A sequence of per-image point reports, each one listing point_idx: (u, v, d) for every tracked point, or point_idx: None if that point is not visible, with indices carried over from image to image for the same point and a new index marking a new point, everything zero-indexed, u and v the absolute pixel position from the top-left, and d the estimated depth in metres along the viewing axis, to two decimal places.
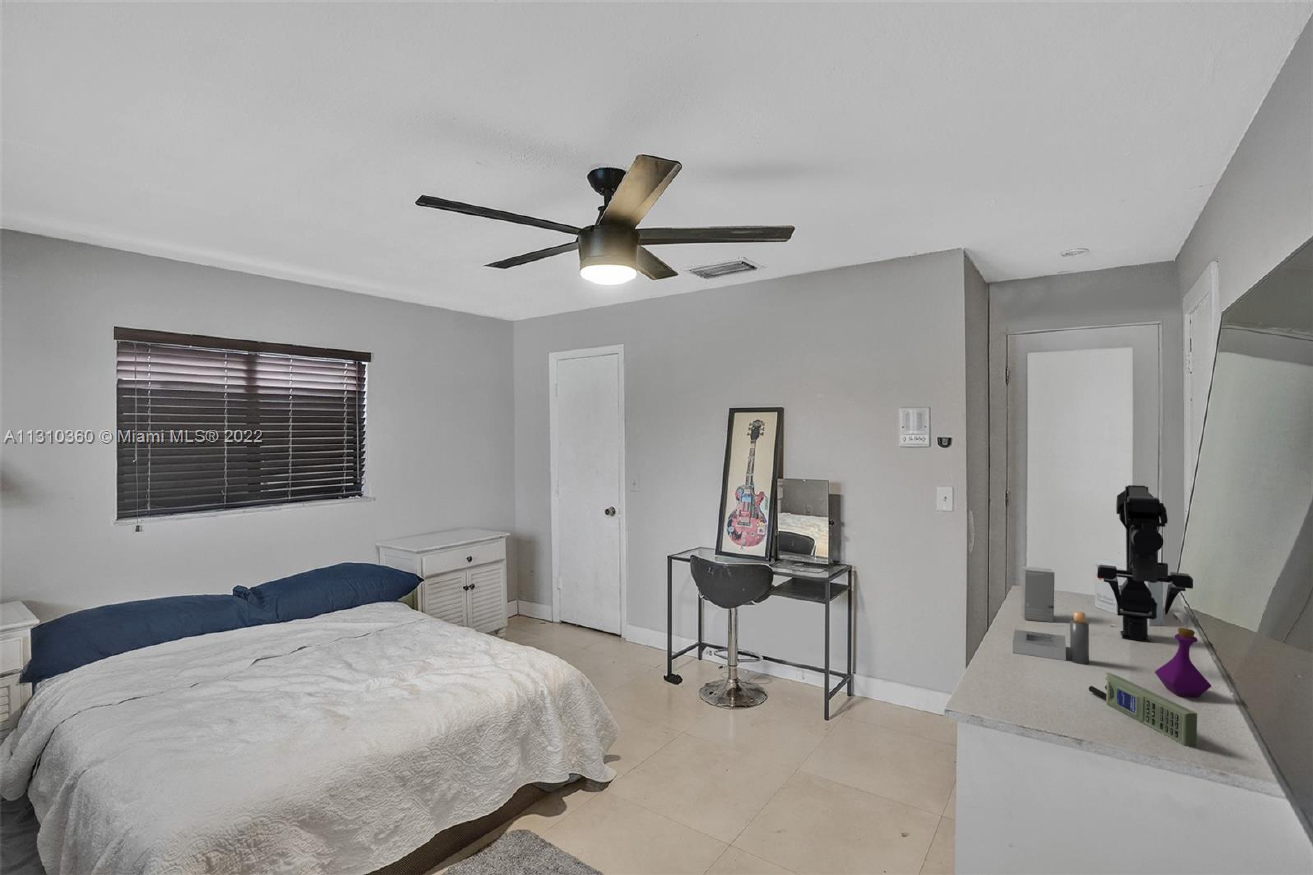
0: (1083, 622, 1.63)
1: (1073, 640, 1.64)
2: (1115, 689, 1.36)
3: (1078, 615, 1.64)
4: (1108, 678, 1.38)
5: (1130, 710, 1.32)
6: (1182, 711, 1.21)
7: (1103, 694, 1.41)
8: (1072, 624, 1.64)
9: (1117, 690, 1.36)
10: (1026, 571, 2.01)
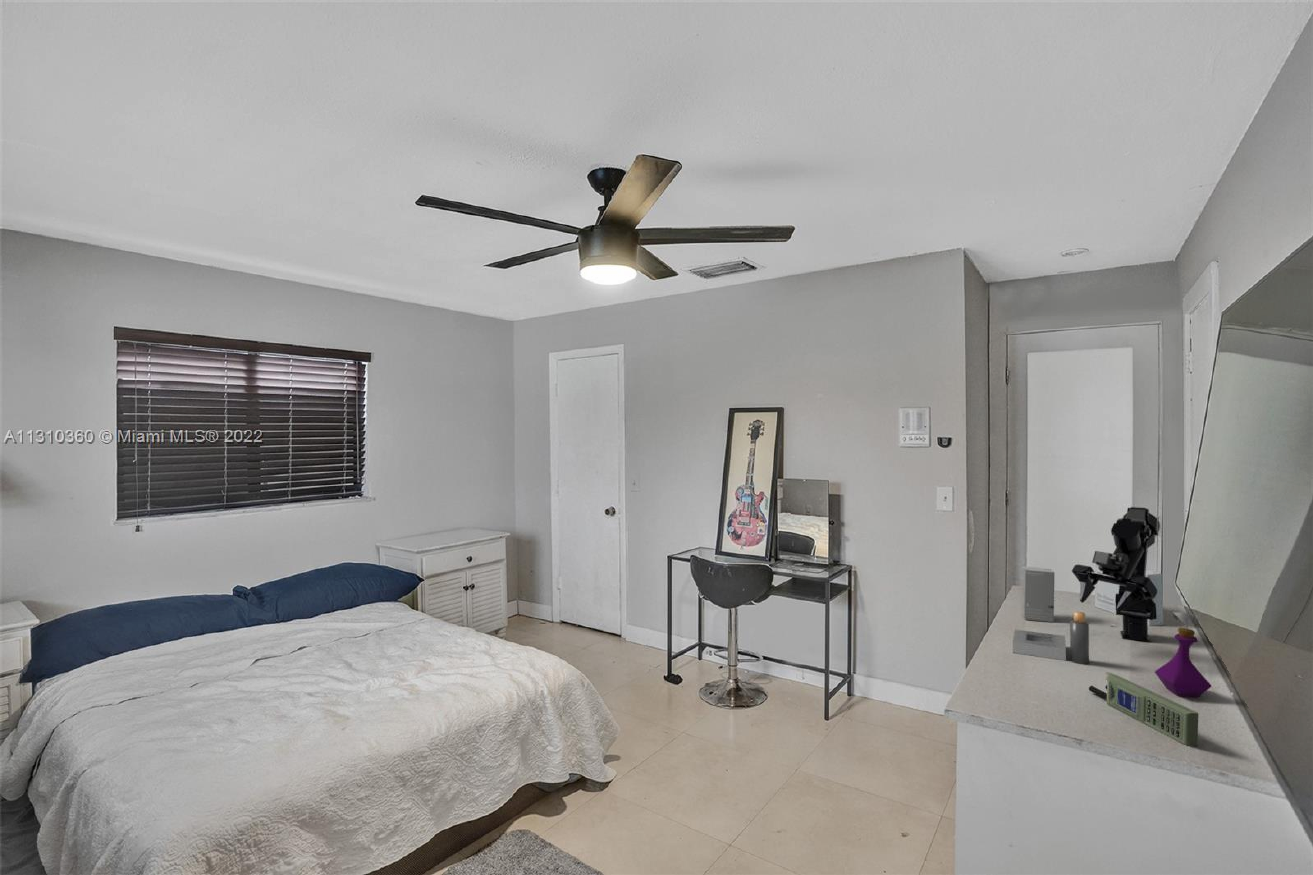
0: (1083, 622, 1.63)
1: (1073, 640, 1.64)
2: (1116, 689, 1.36)
3: (1078, 615, 1.63)
4: (1108, 678, 1.38)
5: (1131, 709, 1.32)
6: (1183, 711, 1.21)
7: (1103, 694, 1.41)
8: (1072, 624, 1.64)
9: (1117, 690, 1.36)
10: (1026, 571, 2.01)
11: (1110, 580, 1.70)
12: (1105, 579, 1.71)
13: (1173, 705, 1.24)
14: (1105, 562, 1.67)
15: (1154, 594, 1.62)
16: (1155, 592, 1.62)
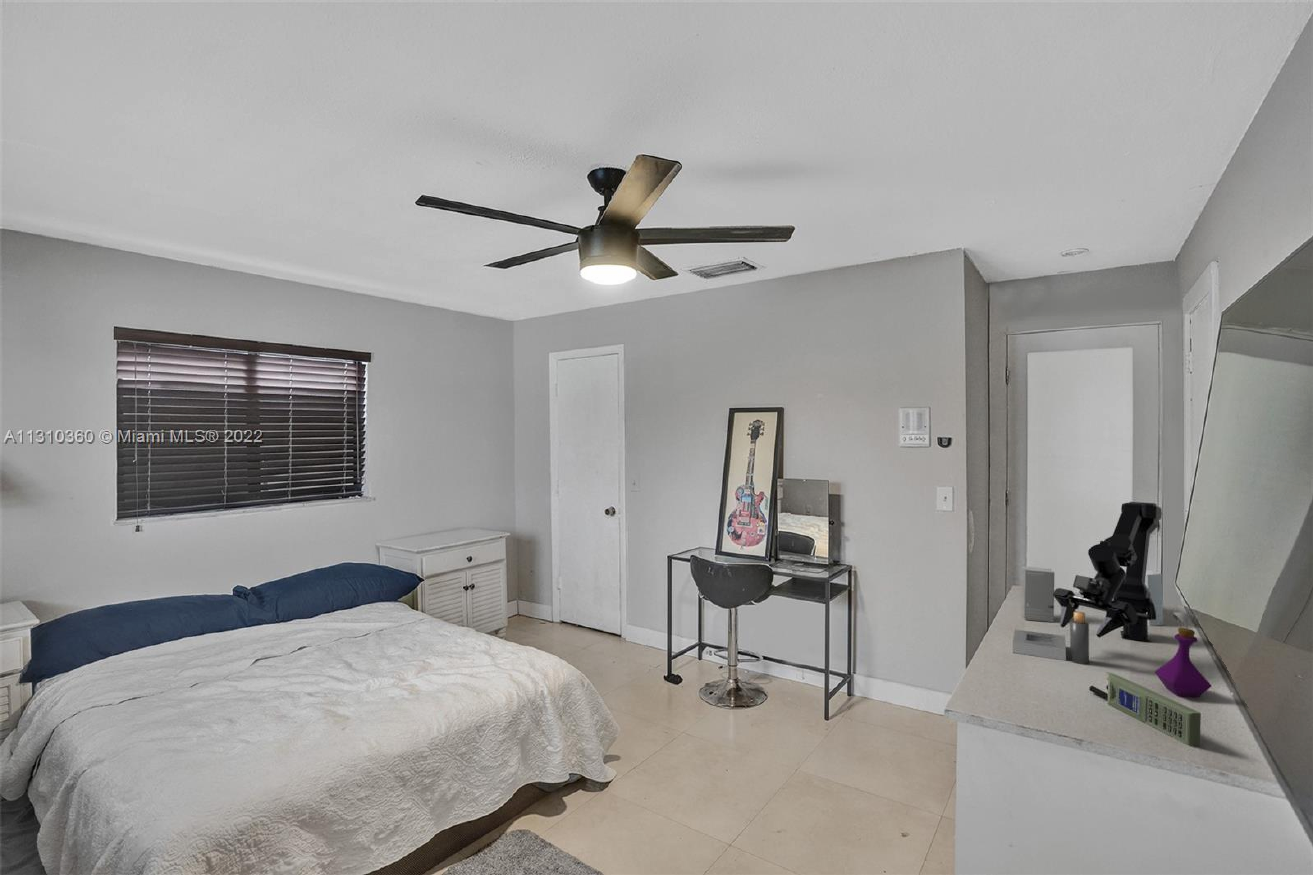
0: (1083, 622, 1.63)
1: (1073, 640, 1.64)
2: (1117, 689, 1.36)
3: (1078, 615, 1.64)
4: (1109, 678, 1.38)
5: (1132, 709, 1.32)
6: (1186, 711, 1.21)
7: (1104, 694, 1.41)
8: (1072, 624, 1.64)
9: (1119, 690, 1.36)
10: (1026, 571, 2.01)
11: (1091, 605, 1.67)
12: (1086, 604, 1.68)
13: (1175, 705, 1.24)
14: (1085, 587, 1.63)
15: (1135, 620, 1.59)
16: (1136, 618, 1.59)
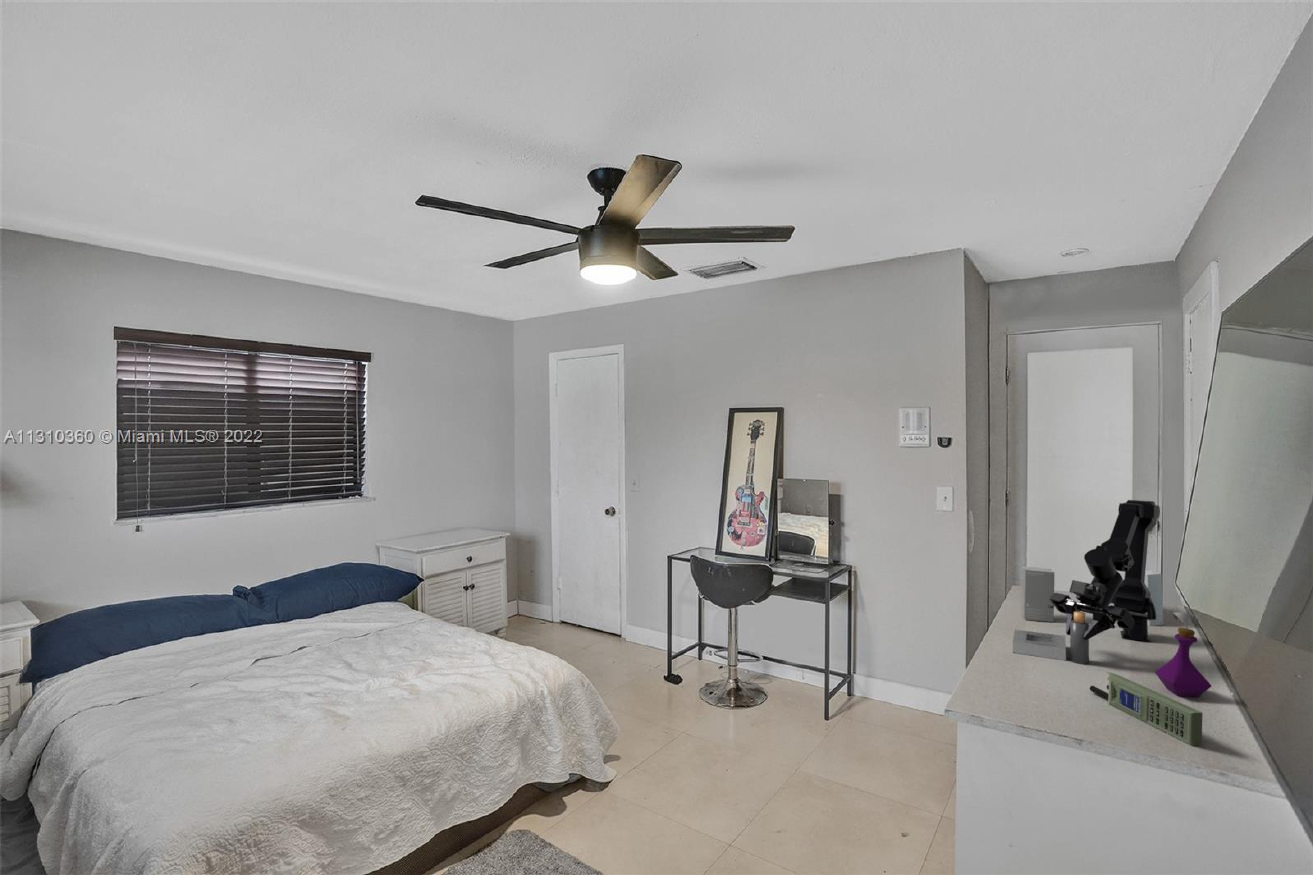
0: (1083, 622, 1.63)
1: (1073, 639, 1.64)
2: (1118, 689, 1.36)
3: (1078, 615, 1.64)
4: (1110, 678, 1.38)
5: (1133, 709, 1.32)
6: (1188, 710, 1.21)
7: (1105, 694, 1.41)
8: (1072, 624, 1.64)
9: (1120, 690, 1.36)
10: (1026, 571, 2.01)
11: (1088, 610, 1.66)
12: (1083, 609, 1.67)
13: (1177, 705, 1.24)
14: (1082, 592, 1.63)
15: (1131, 626, 1.58)
16: (1132, 624, 1.58)
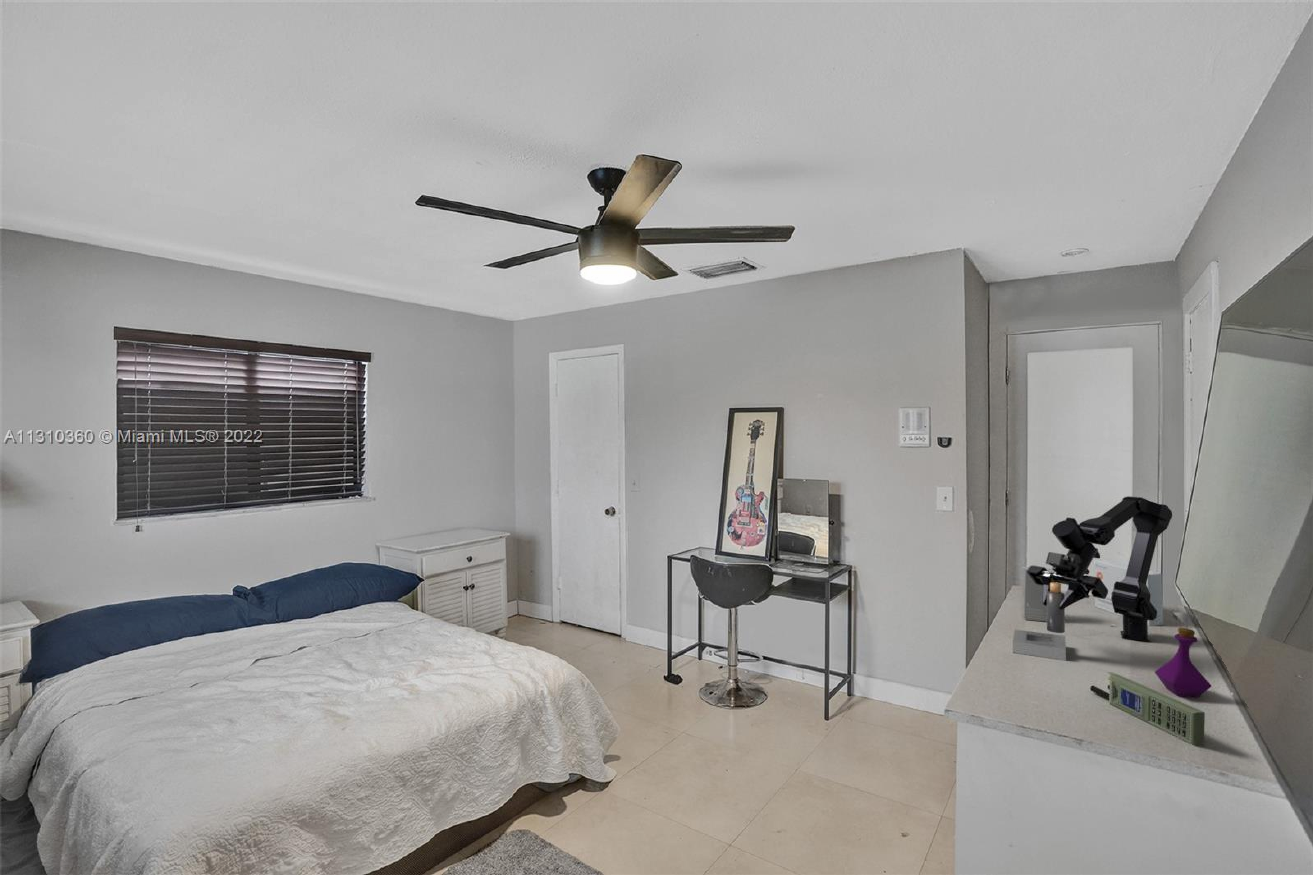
0: (1059, 592, 1.68)
1: (1049, 609, 1.69)
2: (1119, 689, 1.36)
3: (1054, 585, 1.69)
4: (1111, 678, 1.39)
5: (1135, 709, 1.32)
6: (1190, 710, 1.21)
7: (1105, 694, 1.41)
8: (1048, 594, 1.69)
9: (1121, 690, 1.36)
10: (1026, 571, 2.01)
11: (1063, 581, 1.71)
12: (1058, 580, 1.73)
13: (1179, 704, 1.24)
14: (1058, 563, 1.68)
15: (1105, 594, 1.63)
16: (1106, 592, 1.64)
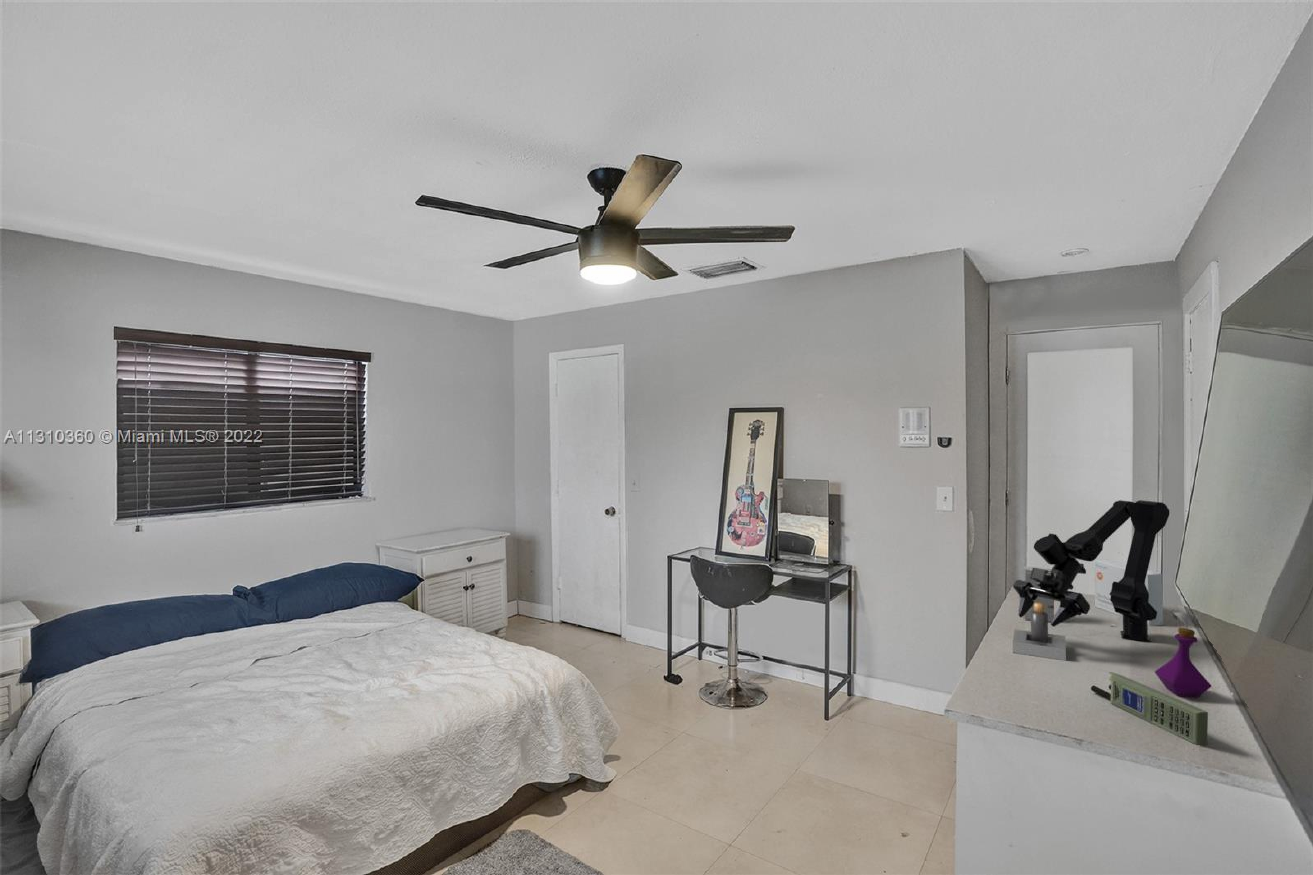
0: (1042, 612, 1.72)
1: (1033, 629, 1.73)
2: (1120, 689, 1.36)
3: (1038, 606, 1.73)
4: (1112, 678, 1.39)
5: (1137, 709, 1.32)
6: (1193, 710, 1.21)
7: (1106, 694, 1.41)
8: (1032, 614, 1.73)
9: (1122, 690, 1.36)
10: (1026, 571, 2.01)
11: (1047, 596, 1.75)
12: (1043, 595, 1.76)
13: (1182, 704, 1.24)
14: (1041, 578, 1.72)
15: (1087, 610, 1.67)
16: (1088, 608, 1.67)
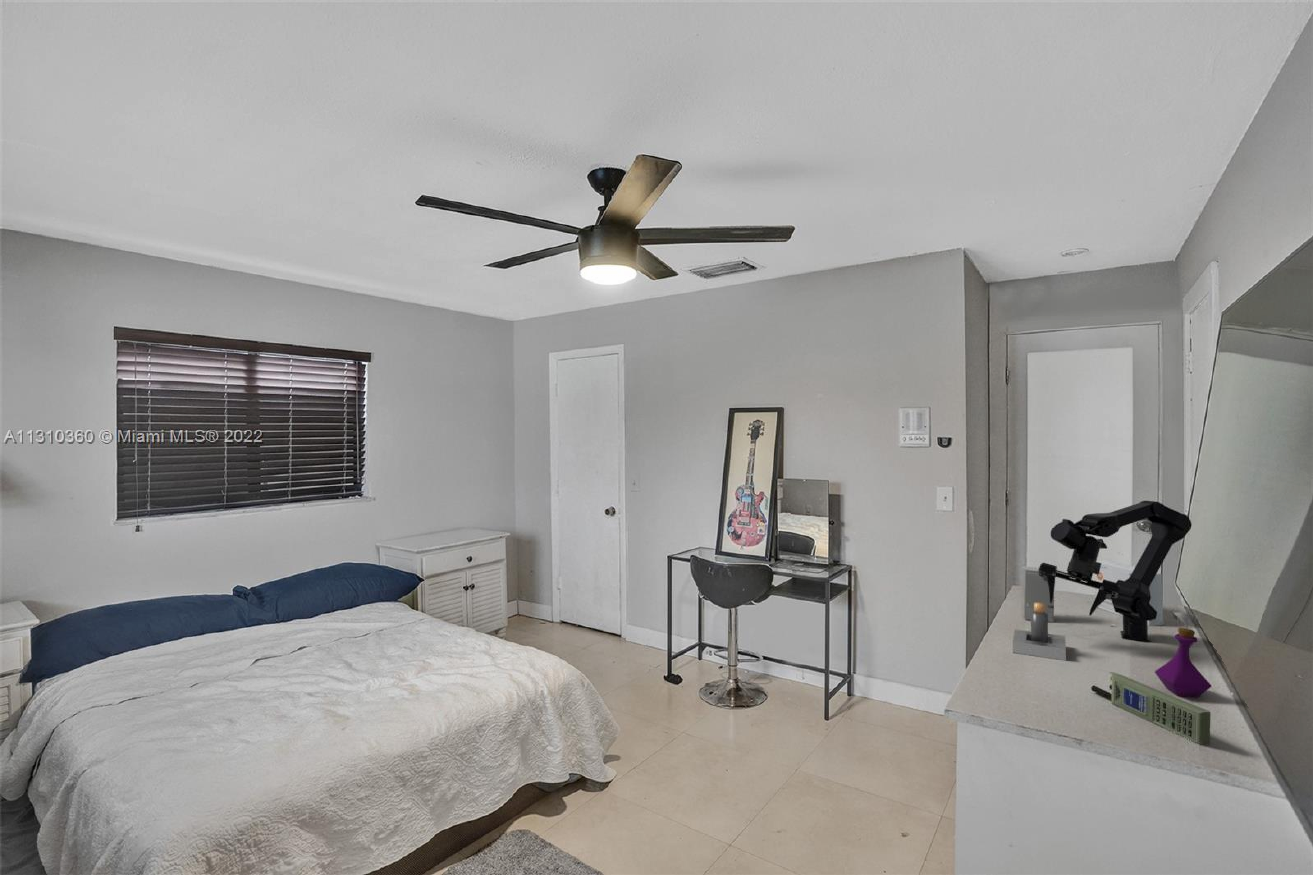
0: (1042, 612, 1.72)
1: (1033, 629, 1.73)
2: (1122, 689, 1.36)
3: (1038, 606, 1.73)
4: (1113, 678, 1.39)
5: (1138, 709, 1.32)
6: (1196, 710, 1.21)
7: (1107, 694, 1.41)
8: (1032, 614, 1.73)
9: (1124, 690, 1.36)
10: (1026, 571, 2.01)
11: (1076, 580, 1.77)
12: (1071, 579, 1.77)
13: (1184, 704, 1.24)
14: (1084, 573, 1.70)
15: (1117, 595, 1.73)
16: None
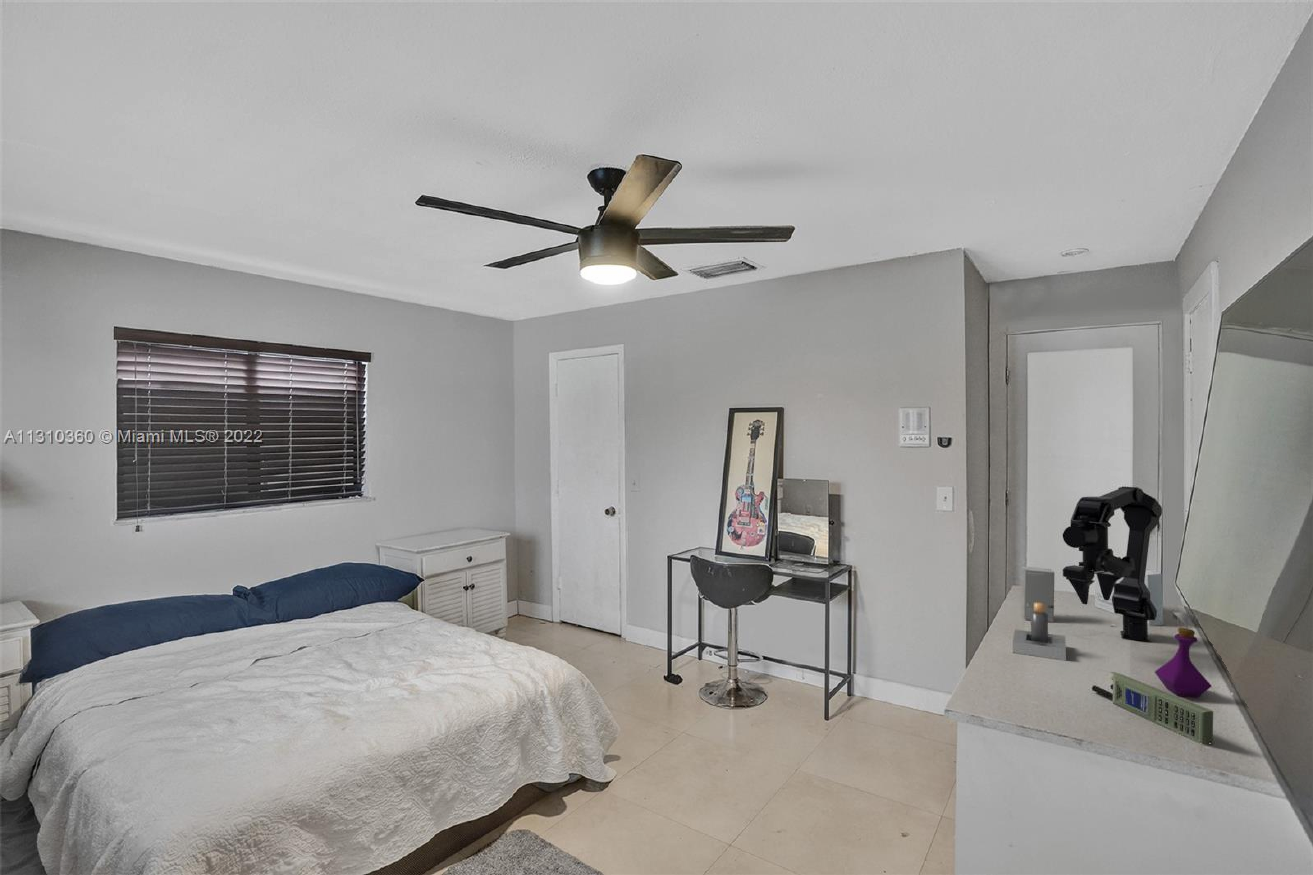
0: (1042, 612, 1.72)
1: (1033, 629, 1.73)
2: (1123, 688, 1.36)
3: (1038, 606, 1.73)
4: (1115, 677, 1.39)
5: (1140, 709, 1.32)
6: (1199, 709, 1.22)
7: (1108, 693, 1.41)
8: (1032, 614, 1.73)
9: (1125, 690, 1.36)
10: (1026, 571, 2.01)
11: (1096, 572, 1.72)
12: None
13: (1187, 704, 1.24)
14: (1128, 575, 1.66)
15: None
16: None
